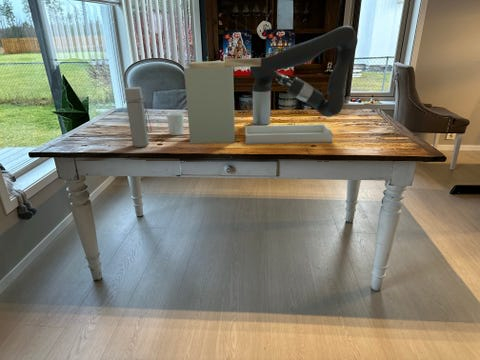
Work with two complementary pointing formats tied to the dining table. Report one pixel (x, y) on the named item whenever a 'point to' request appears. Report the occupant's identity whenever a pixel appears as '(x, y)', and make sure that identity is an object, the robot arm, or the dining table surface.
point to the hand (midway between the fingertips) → (268, 71)
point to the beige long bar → (227, 63)
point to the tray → (288, 134)
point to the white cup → (175, 123)
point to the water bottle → (137, 116)
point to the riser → (210, 104)
